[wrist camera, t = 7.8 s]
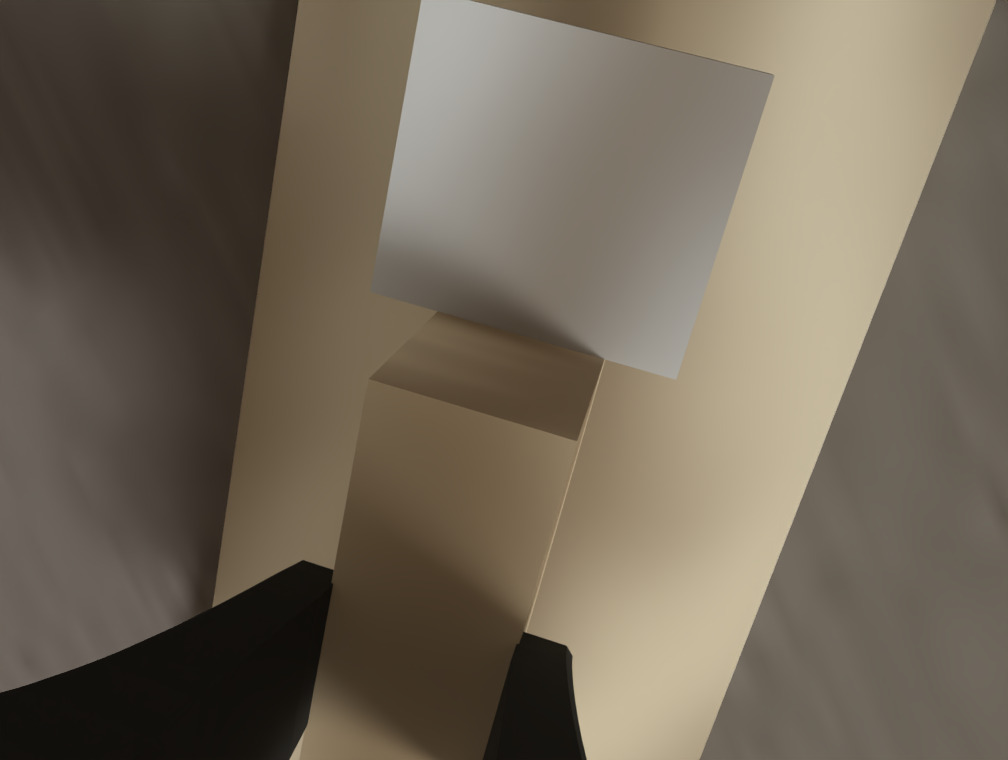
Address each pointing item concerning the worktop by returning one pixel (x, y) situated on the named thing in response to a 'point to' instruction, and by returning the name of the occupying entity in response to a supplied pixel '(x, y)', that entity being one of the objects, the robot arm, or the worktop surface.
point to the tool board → (621, 389)
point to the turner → (509, 343)
